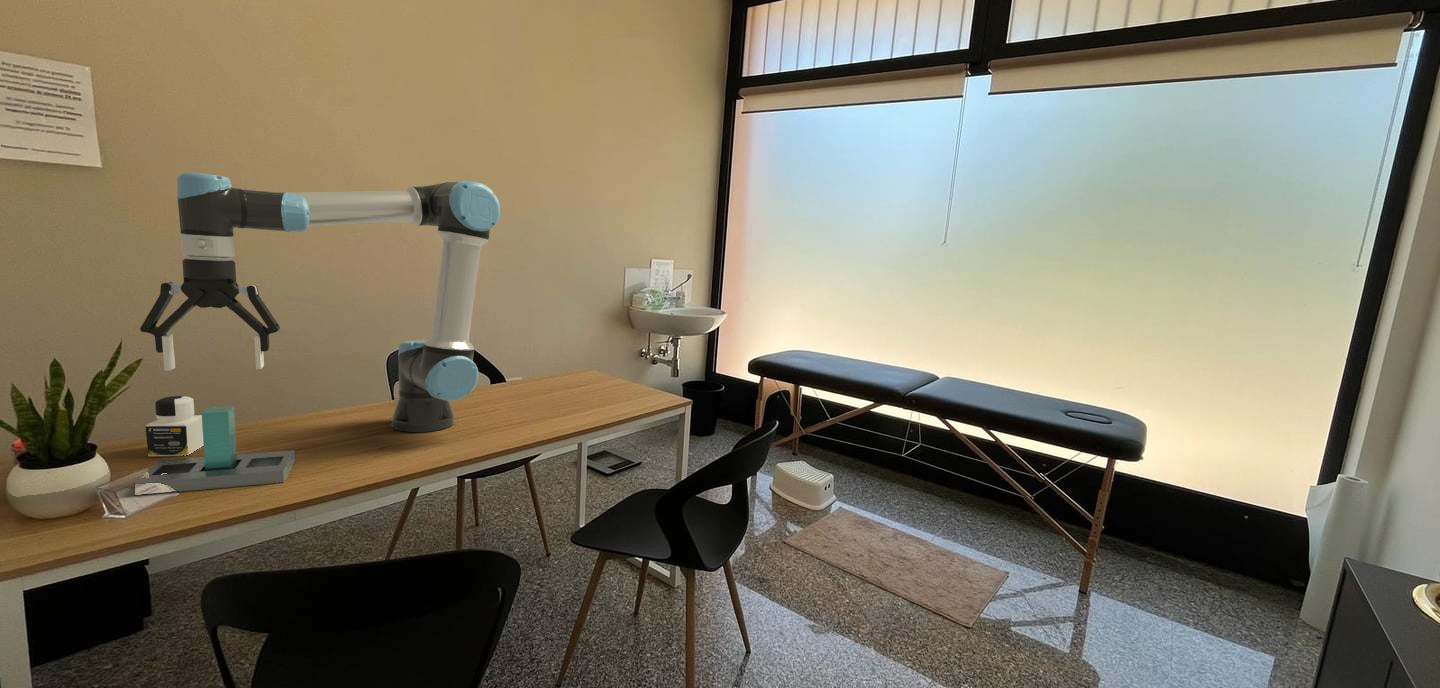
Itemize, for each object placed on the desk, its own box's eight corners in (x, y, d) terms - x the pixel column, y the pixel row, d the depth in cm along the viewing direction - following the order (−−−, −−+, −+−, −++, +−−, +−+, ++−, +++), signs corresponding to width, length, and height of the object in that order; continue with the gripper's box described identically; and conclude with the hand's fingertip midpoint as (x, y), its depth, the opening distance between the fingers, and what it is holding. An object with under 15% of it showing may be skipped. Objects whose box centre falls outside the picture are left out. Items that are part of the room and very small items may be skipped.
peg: (237, 472, 118) (234, 406, 116) (232, 479, 115) (228, 411, 113) (212, 474, 117) (208, 407, 114) (206, 482, 113) (201, 412, 111)
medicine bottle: (147, 457, 122) (142, 402, 121) (168, 445, 129) (164, 393, 127) (188, 456, 124) (184, 402, 123) (207, 445, 131) (203, 393, 129)
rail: (295, 461, 126) (294, 450, 126) (283, 482, 115) (283, 470, 115) (160, 471, 116) (159, 460, 115) (134, 495, 105) (133, 483, 105)
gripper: (108, 254, 100) (119, 374, 103) (286, 263, 111) (291, 370, 115) (128, 253, 107) (137, 365, 110) (294, 261, 118) (298, 363, 121)
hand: (216, 368), depth 112 cm, fingers open, 13 cm apart
